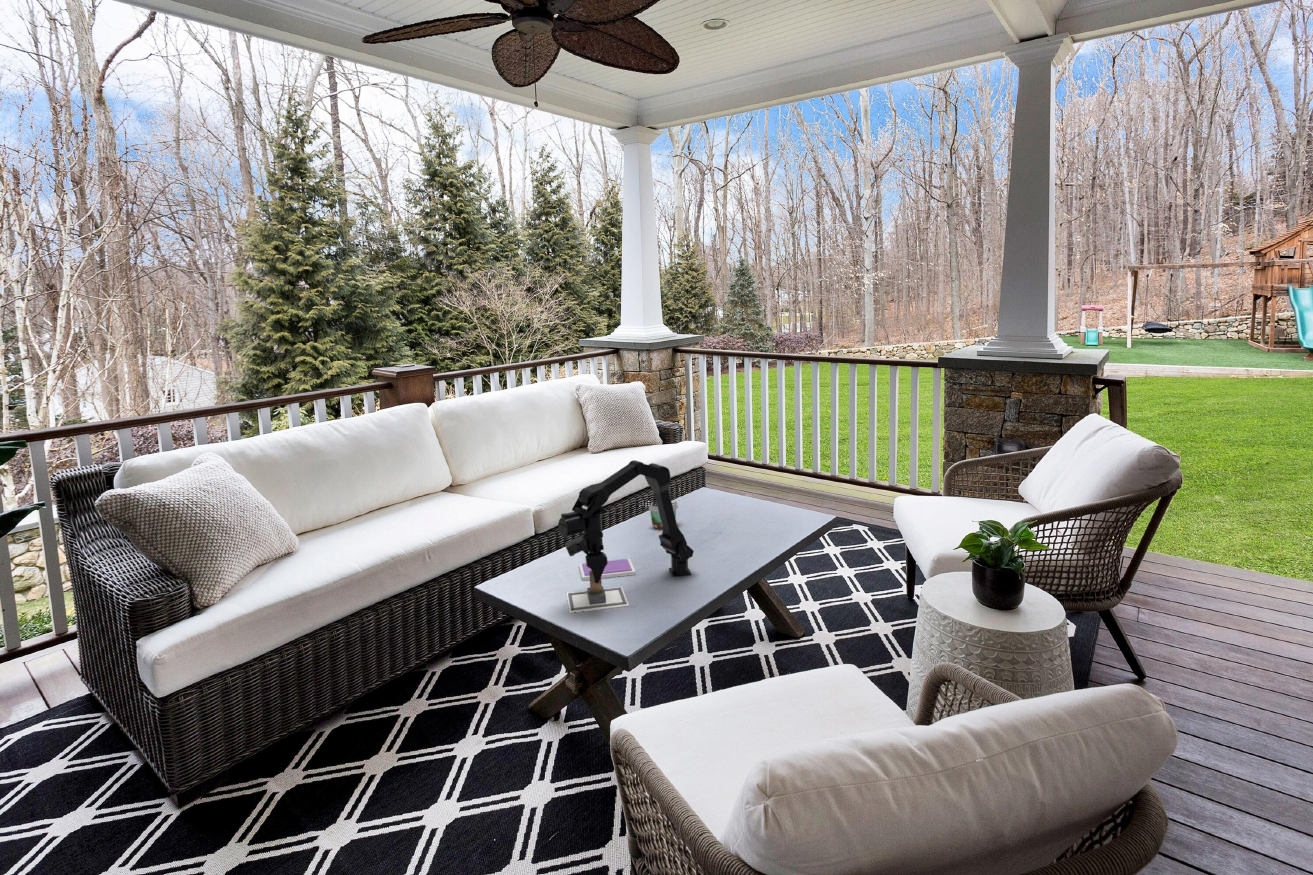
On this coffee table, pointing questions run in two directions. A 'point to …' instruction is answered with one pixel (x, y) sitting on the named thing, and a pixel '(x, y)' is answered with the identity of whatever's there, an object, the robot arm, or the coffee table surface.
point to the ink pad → (610, 569)
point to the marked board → (581, 603)
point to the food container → (656, 516)
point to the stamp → (595, 591)
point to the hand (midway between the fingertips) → (595, 576)
